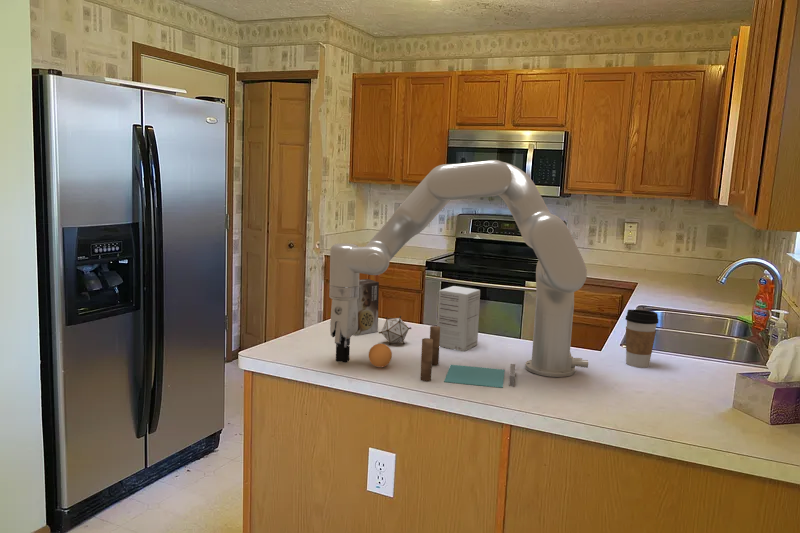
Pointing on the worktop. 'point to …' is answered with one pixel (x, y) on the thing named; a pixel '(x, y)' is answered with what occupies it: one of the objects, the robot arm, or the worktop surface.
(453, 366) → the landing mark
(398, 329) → the game die
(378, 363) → the ball
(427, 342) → the post near
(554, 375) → the robot arm
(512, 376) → the stopper strip
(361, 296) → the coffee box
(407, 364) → the worktop surface
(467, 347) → the supplement box
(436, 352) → the post far
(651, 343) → the coffee cup
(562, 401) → the worktop surface
